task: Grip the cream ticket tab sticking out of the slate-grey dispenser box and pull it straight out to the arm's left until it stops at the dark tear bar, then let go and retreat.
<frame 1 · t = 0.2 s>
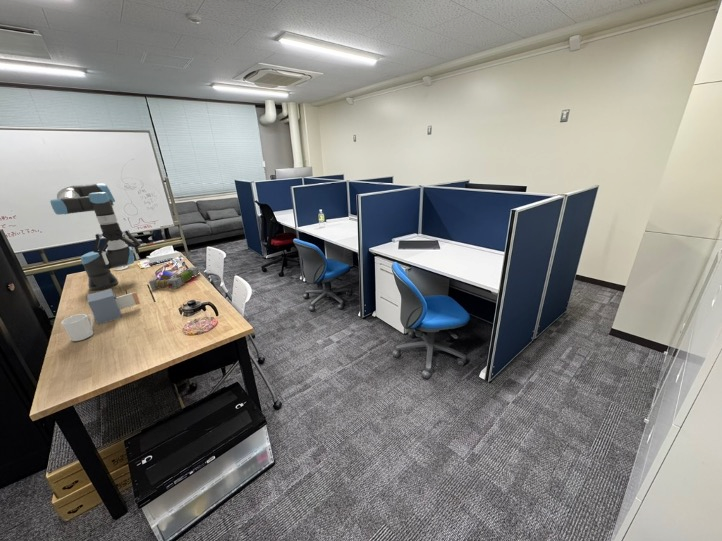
hand: (123, 261, 158), 27 cm above the table, fingers open, 13 cm apart
mug: (85, 336, 140), on the table
dispenser: (109, 316, 157), on the table
ticket: (118, 303, 158), point 6 cm above the table, slide at 0.0 cm
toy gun: (176, 282, 198), on the table
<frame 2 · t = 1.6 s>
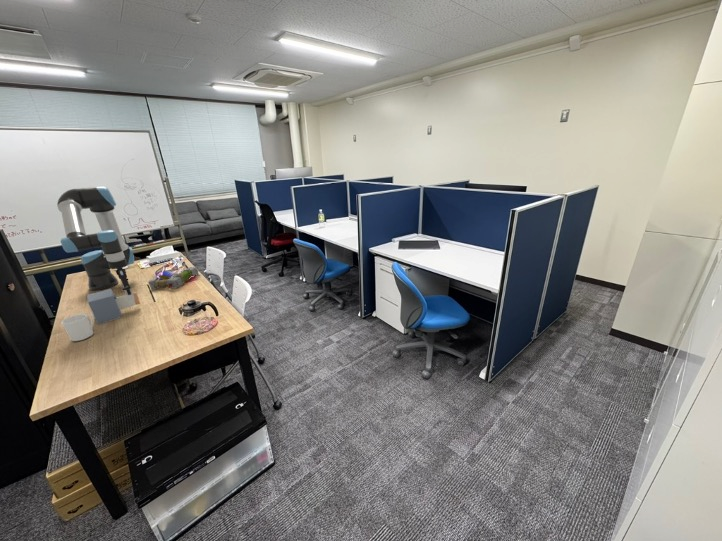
hand: (130, 295, 160), 8 cm above the table, fingers open, 13 cm apart
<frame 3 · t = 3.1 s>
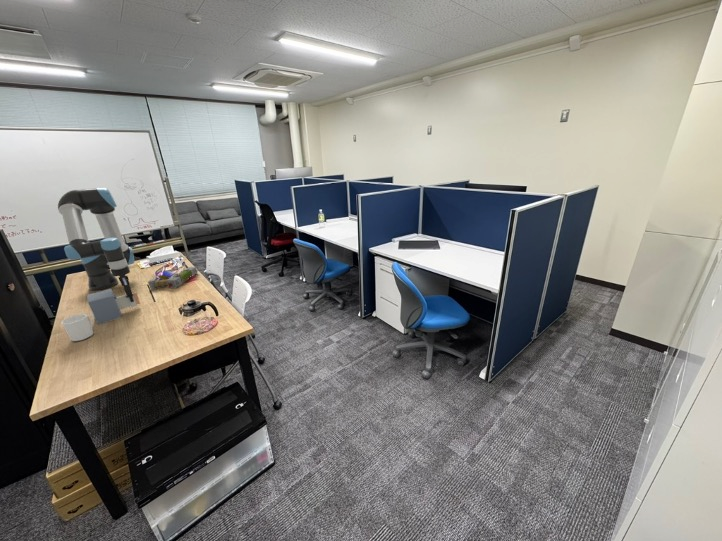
hand: (133, 305, 163), 2 cm above the table, fingers closed on ticket
ticket: (118, 303, 158), point 6 cm above the table, slide at 0.0 cm, touching gripper
everything else where it was.
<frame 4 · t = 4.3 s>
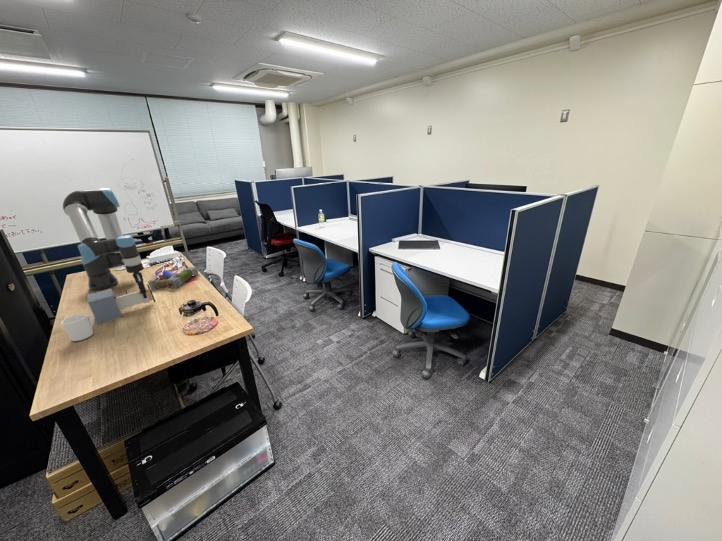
hand: (147, 301, 167), 2 cm above the table, fingers closed on ticket
ticket: (131, 299, 162), point 6 cm above the table, slide at 6.2 cm, touching gripper
everything else where it was.
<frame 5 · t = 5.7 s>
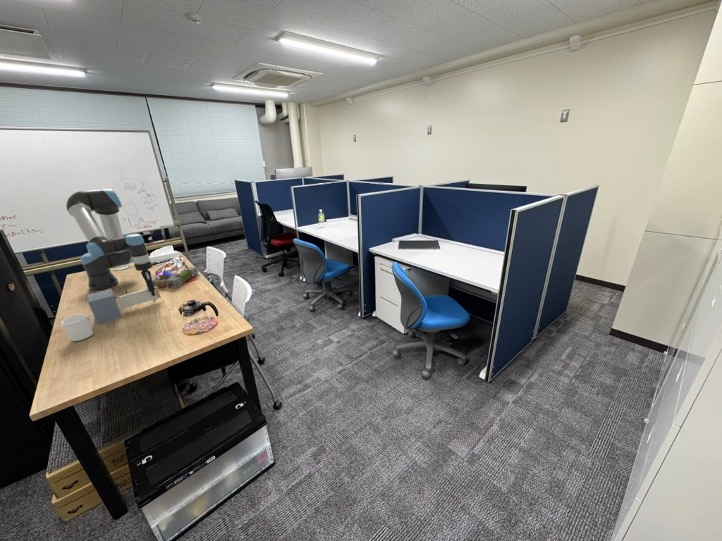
hand: (154, 299, 169), 2 cm above the table, fingers closed on ticket
ticket: (140, 297, 164), point 6 cm above the table, slide at 10.1 cm, touching gripper
everything else where it was.
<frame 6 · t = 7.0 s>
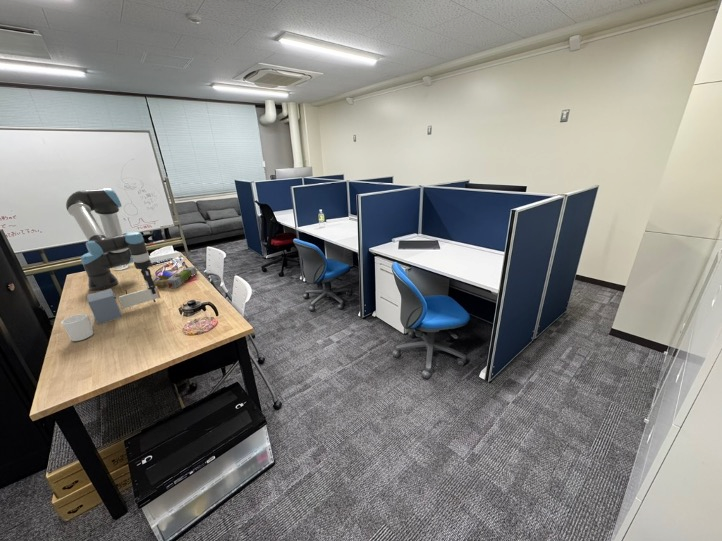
hand: (153, 294, 168), 5 cm above the table, fingers open, 13 cm apart
ticket: (140, 297, 164), point 6 cm above the table, slide at 10.1 cm
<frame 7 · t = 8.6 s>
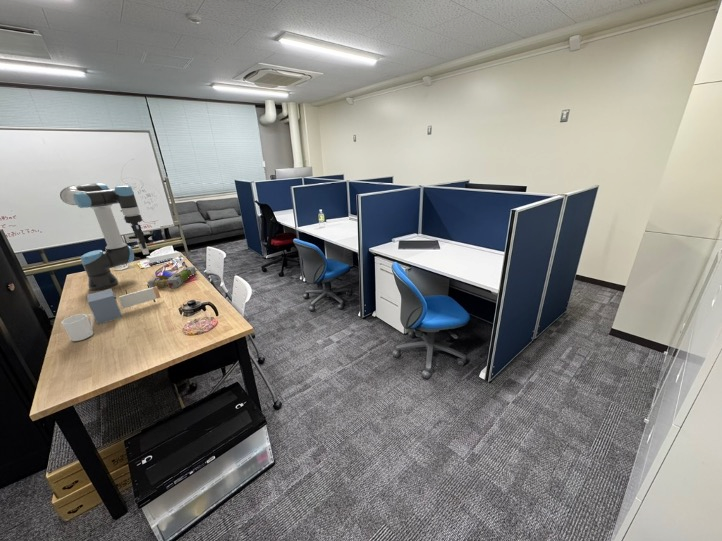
hand: (144, 251, 168), 29 cm above the table, fingers open, 13 cm apart
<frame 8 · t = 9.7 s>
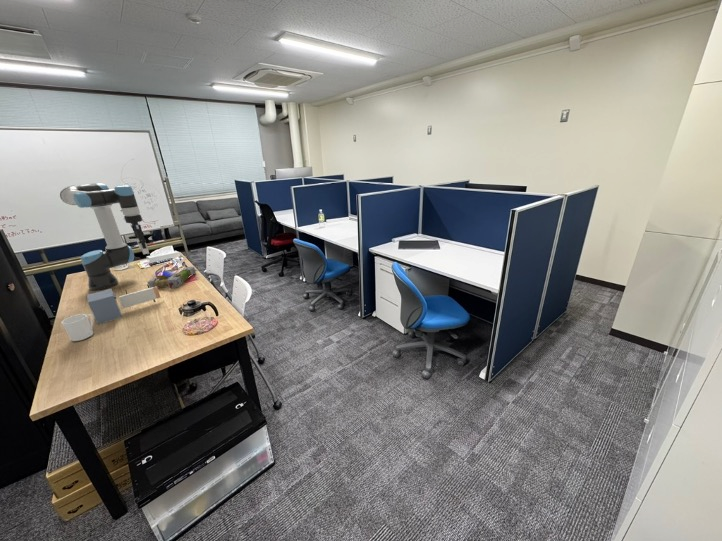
hand: (144, 251, 168), 29 cm above the table, fingers open, 13 cm apart
at the end: ticket slide at 10.1 cm; the gripper is holding nothing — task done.
